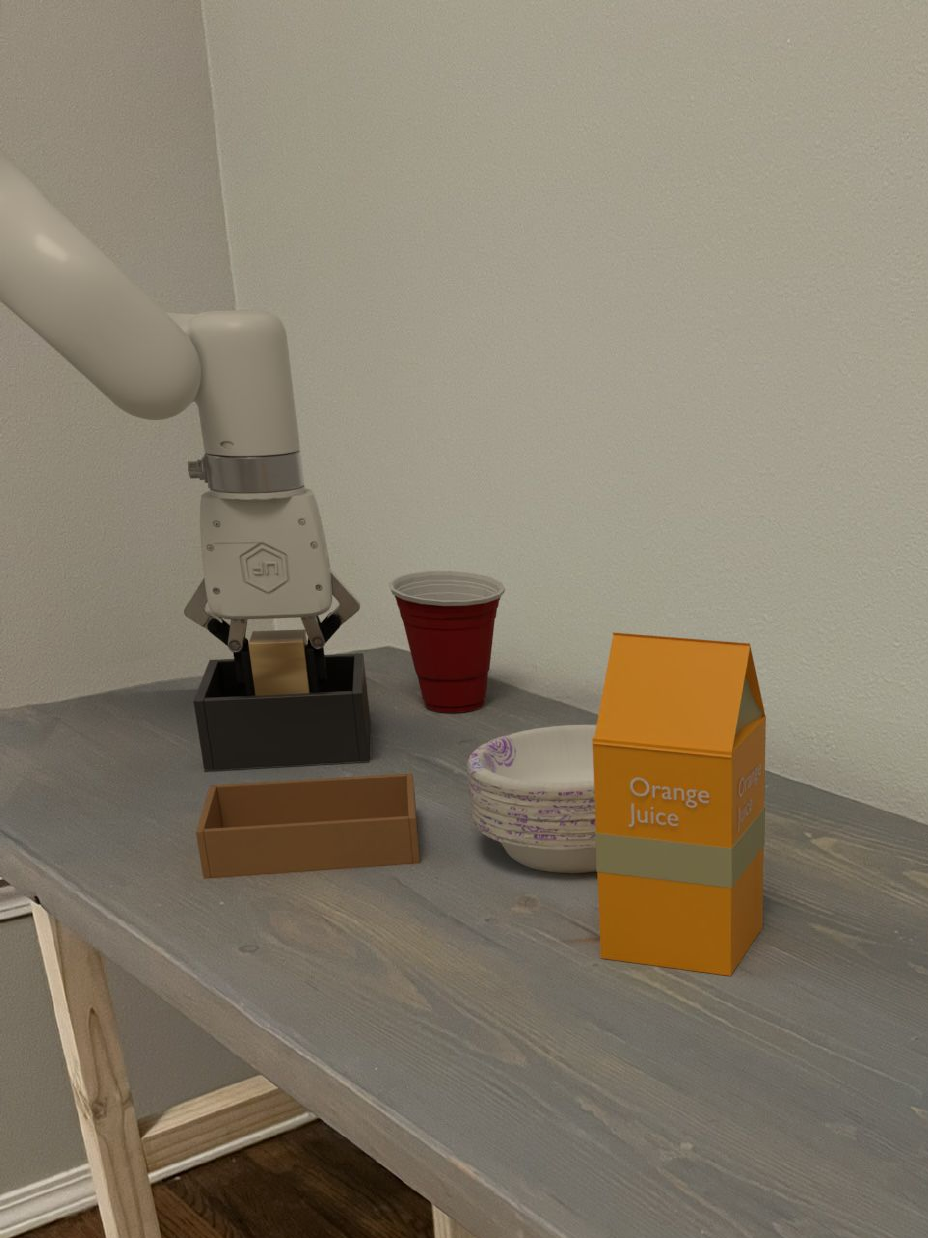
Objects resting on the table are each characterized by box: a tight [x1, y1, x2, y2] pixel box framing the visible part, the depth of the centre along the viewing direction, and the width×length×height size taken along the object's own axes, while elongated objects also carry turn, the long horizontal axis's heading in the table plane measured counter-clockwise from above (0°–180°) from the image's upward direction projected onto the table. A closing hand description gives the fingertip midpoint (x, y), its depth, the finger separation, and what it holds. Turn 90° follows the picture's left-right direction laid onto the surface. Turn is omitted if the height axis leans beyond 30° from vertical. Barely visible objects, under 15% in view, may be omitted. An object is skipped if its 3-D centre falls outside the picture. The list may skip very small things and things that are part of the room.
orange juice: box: [592, 632, 767, 977], centre depth 92 cm, size 8×9×20 cm
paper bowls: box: [466, 724, 597, 874], centre depth 109 cm, size 15×15×8 cm
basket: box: [192, 652, 372, 773], centre depth 131 cm, size 14×14×7 cm
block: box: [248, 628, 311, 696], centre depth 129 cm, size 4×4×6 cm
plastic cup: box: [388, 570, 506, 714], centre depth 142 cm, size 11×11×12 cm
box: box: [195, 772, 421, 880], centre depth 109 cm, size 15×10×4 cm, turn 102°
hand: (284, 689), depth 130 cm, fingers open, 4 cm apart
